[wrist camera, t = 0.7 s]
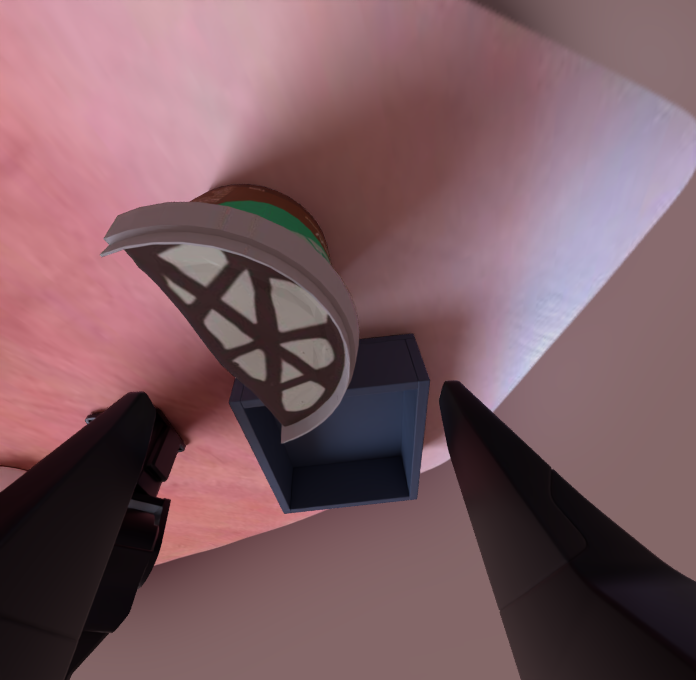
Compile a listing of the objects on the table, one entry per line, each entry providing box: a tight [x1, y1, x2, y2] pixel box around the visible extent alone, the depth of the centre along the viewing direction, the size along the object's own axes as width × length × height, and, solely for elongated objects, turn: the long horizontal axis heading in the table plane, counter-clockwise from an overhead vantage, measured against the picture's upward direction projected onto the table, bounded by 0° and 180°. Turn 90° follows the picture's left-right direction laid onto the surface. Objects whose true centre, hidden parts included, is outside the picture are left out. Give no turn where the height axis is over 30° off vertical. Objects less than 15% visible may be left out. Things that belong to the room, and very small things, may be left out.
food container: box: [100, 184, 359, 443], centre depth 17 cm, size 12×6×10 cm, turn 22°
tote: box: [229, 334, 430, 514], centre depth 29 cm, size 14×18×5 cm
